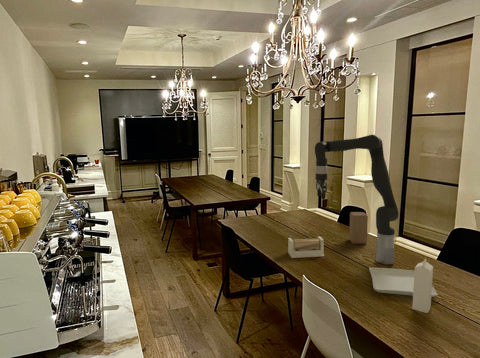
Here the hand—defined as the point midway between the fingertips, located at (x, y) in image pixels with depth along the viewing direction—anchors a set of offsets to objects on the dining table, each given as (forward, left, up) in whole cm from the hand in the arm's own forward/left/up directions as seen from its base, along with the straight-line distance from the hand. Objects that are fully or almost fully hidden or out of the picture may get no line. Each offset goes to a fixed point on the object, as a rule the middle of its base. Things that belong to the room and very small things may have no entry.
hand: (321, 197), depth 225 cm
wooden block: (+4, -28, -33) cm, 44 cm away
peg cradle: (-14, +14, -33) cm, 39 cm away
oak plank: (-14, +14, -29) cm, 35 cm away
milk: (-84, -17, -33) cm, 92 cm away
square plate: (-62, -20, -34) cm, 73 cm away
